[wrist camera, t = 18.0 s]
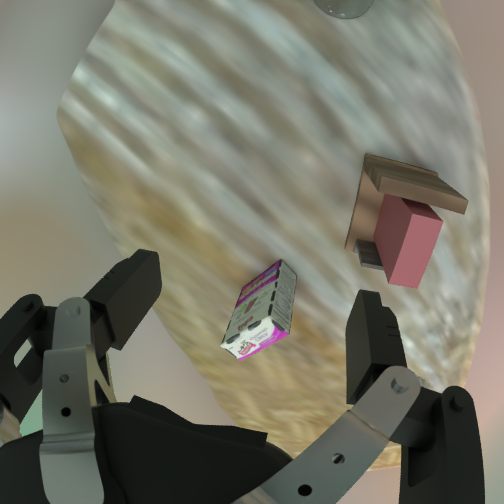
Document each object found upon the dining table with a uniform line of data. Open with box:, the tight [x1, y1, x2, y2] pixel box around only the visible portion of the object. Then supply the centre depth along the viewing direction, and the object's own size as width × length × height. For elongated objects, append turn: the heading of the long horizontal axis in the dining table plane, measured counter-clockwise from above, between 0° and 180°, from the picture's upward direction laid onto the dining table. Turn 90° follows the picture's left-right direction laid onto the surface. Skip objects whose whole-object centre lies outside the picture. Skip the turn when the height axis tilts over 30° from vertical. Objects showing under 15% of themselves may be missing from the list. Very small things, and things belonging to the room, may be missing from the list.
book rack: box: [345, 154, 468, 270], centre depth 40 cm, size 17×13×13 cm
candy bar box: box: [221, 260, 297, 361], centre depth 50 cm, size 11×5×16 cm, turn 136°
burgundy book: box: [373, 194, 443, 288], centre depth 38 cm, size 10×4×14 cm, turn 175°
